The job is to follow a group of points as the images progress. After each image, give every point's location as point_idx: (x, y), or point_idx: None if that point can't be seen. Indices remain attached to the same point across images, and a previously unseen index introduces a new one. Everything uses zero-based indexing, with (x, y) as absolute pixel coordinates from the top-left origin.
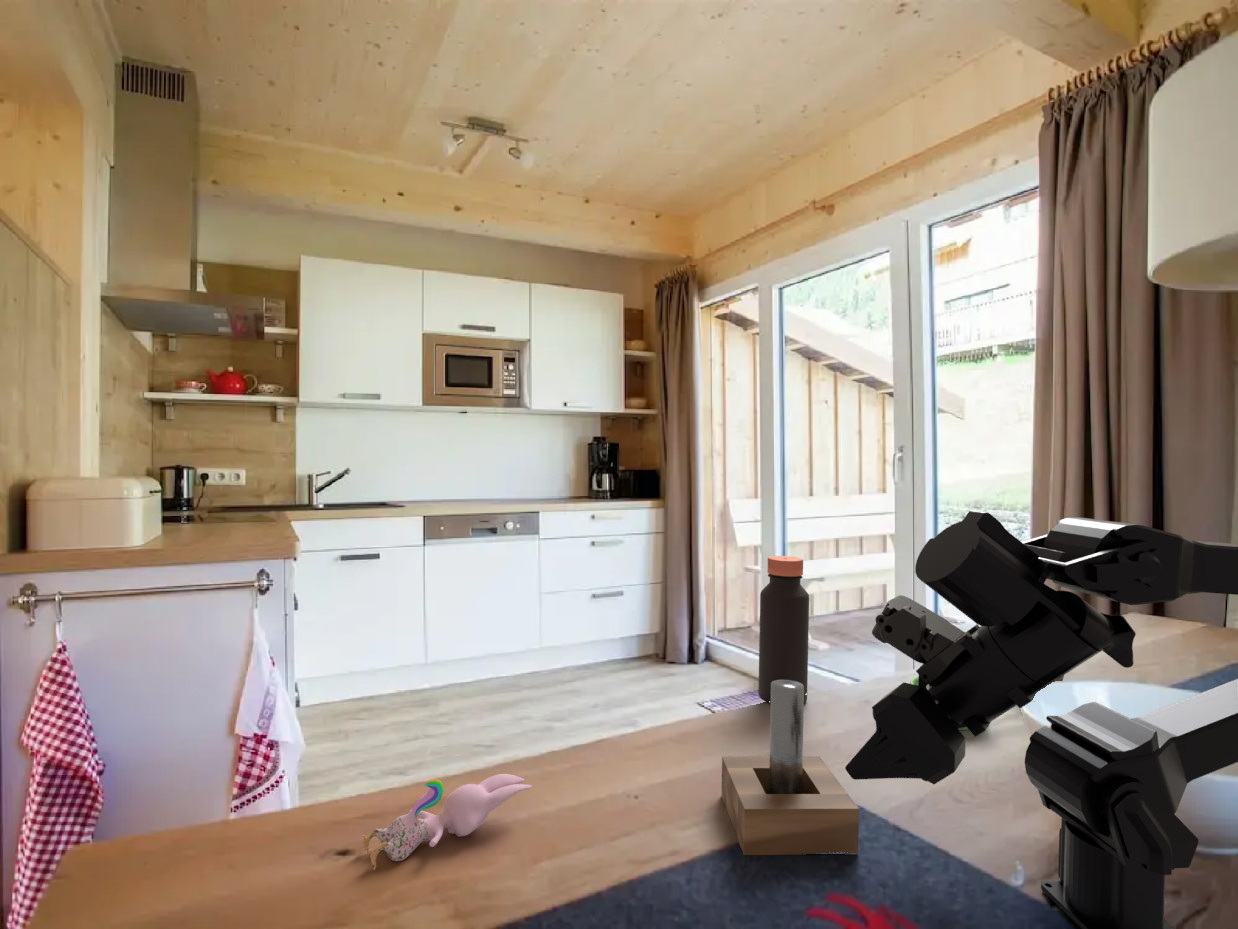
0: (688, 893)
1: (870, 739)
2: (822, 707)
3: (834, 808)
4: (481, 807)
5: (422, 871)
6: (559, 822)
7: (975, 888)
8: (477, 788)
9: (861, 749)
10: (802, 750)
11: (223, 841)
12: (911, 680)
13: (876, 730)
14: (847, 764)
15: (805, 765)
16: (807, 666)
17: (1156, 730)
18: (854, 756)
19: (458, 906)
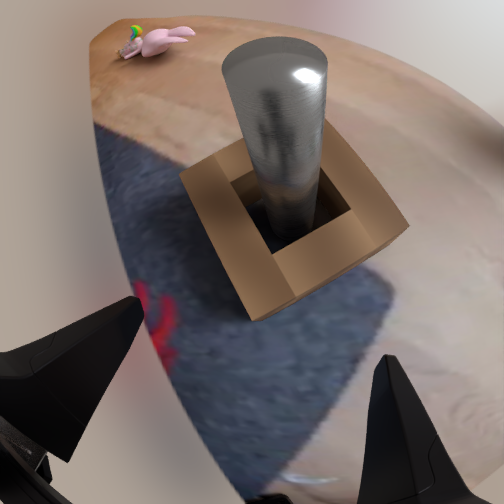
0: (130, 182)
1: (31, 342)
2: None
3: (233, 283)
4: (150, 45)
5: (122, 68)
6: (191, 71)
7: (256, 444)
8: (154, 34)
9: (69, 325)
10: (286, 193)
11: (132, 24)
12: None
13: (2, 353)
14: (122, 299)
15: (363, 210)
16: None
17: None
18: (96, 312)
19: (99, 97)
